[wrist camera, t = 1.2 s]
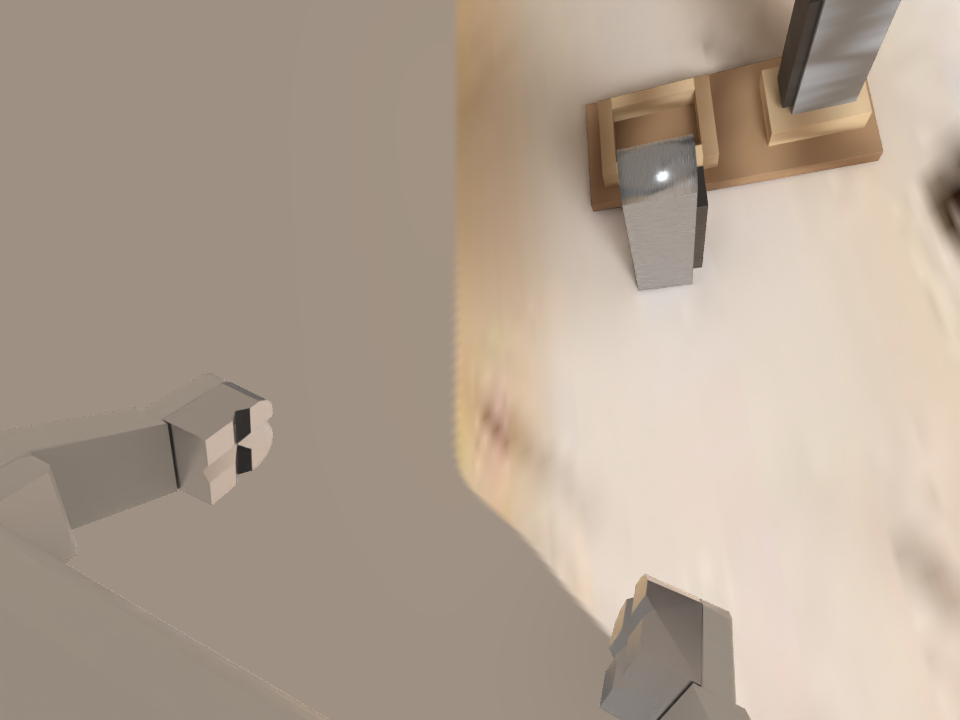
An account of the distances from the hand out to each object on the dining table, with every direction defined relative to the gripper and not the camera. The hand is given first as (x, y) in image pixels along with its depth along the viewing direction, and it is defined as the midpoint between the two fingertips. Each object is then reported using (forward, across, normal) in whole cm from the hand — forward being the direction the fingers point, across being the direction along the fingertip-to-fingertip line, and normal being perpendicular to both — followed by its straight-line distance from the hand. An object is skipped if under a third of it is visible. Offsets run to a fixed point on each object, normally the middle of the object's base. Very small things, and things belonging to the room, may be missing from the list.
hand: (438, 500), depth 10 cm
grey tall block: (+32, -4, +4) cm, 32 cm away
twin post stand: (+38, -4, -5) cm, 39 cm away
